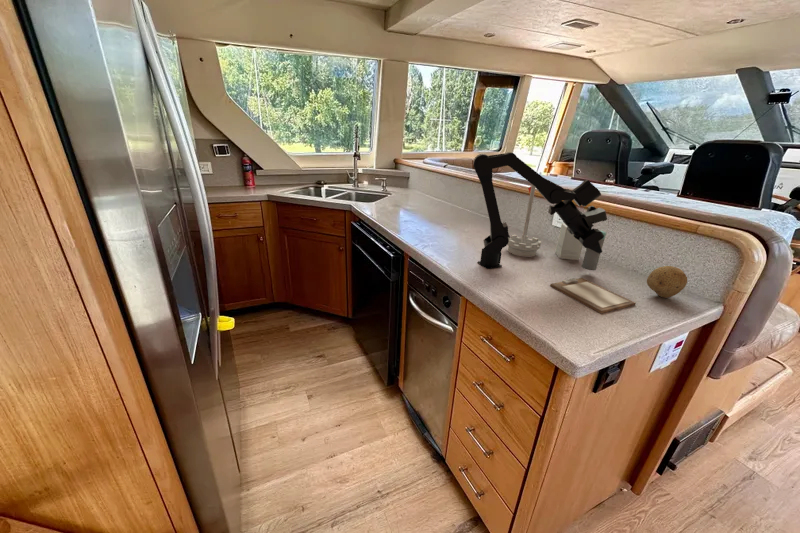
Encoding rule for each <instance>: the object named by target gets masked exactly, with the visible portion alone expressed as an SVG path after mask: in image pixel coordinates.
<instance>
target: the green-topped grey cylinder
mask: <svg viewBox="0 0 800 533" xmlns="http://www.w3.org/2000/svg"><path fill="white" fill-rule="evenodd" d="M598 230H599V229H598ZM599 231H601V232H602V233H603V235H604V238H602V239H601V240H599V244H600V247H601V249H603V246H604V243H605V239H606V236H607V232H606V231H604V230H599ZM585 249H586V250H585V252H584V256H583V260H582V264H581V268H582V269H585V270H587V271H596V270H597V267H598V263H599V261H600V260H599V259H600V256H601V253H600V254H599V253H597V252H595V251H593V250H591V249H589V248H585Z"/></svg>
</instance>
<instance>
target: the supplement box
mask: <svg viewBox="0 0 800 533" xmlns="http://www.w3.org/2000/svg"><path fill="white" fill-rule="evenodd" d="M583 247H584V246H583V245H582V244H581V243H580V241H579V240H578V239H576V238H575V237H574V234H572V235H571V234H570V233H569V231H568V230H567V225H565V224H564V222H561V226H560V228H559V235H558V238H557V243H556V247H555V251H554V253H555V254H556V255H557V257H558V259H562V260H571V261H572V260H573V261H579V260H580V257H581V254H582V250H583Z"/></svg>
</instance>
